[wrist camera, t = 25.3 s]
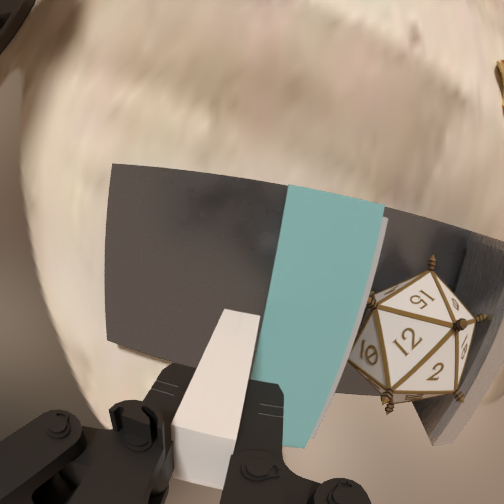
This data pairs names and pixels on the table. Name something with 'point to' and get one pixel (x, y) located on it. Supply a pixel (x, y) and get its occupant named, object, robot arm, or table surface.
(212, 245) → the vise bed
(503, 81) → the shard
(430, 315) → the game die
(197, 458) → the robot arm
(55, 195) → the table surface
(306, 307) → the block
